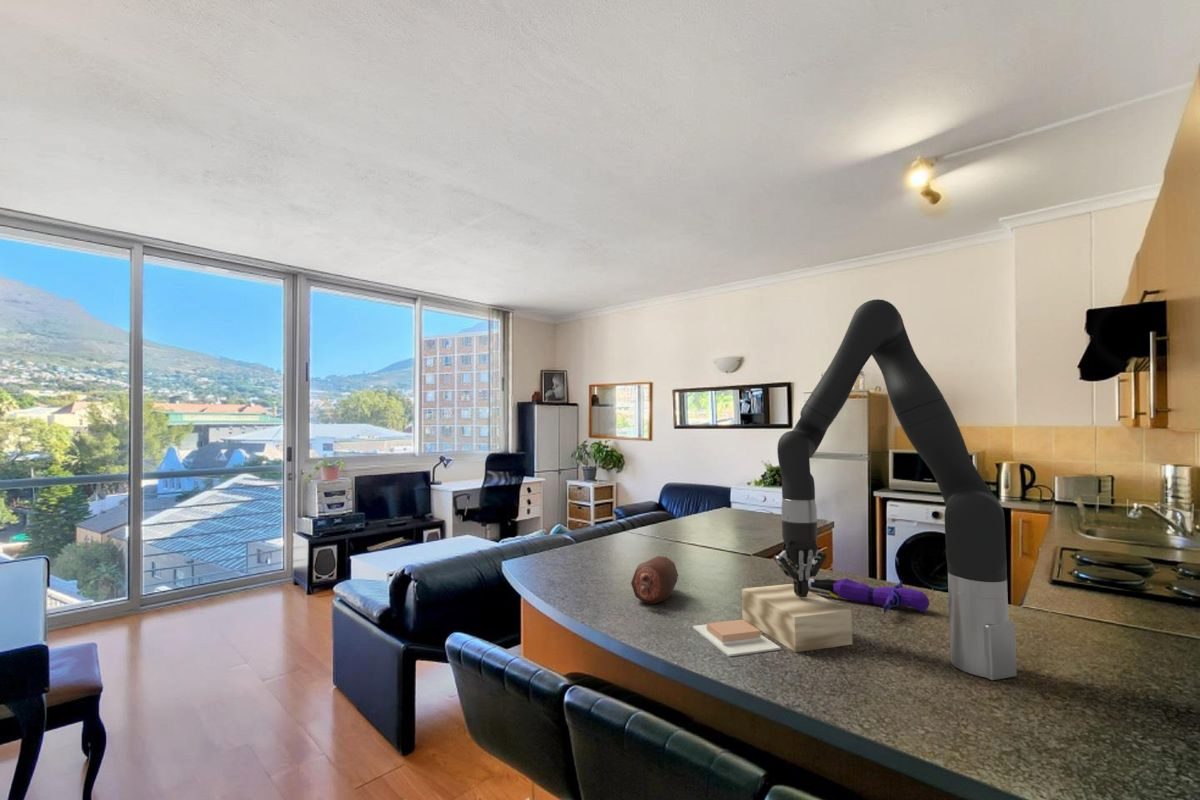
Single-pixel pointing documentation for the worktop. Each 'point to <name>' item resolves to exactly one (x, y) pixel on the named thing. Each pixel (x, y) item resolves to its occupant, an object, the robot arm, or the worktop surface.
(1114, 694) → the worktop surface
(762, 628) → the block
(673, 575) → the meat
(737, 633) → the tile
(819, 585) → the toy
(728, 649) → the mat
